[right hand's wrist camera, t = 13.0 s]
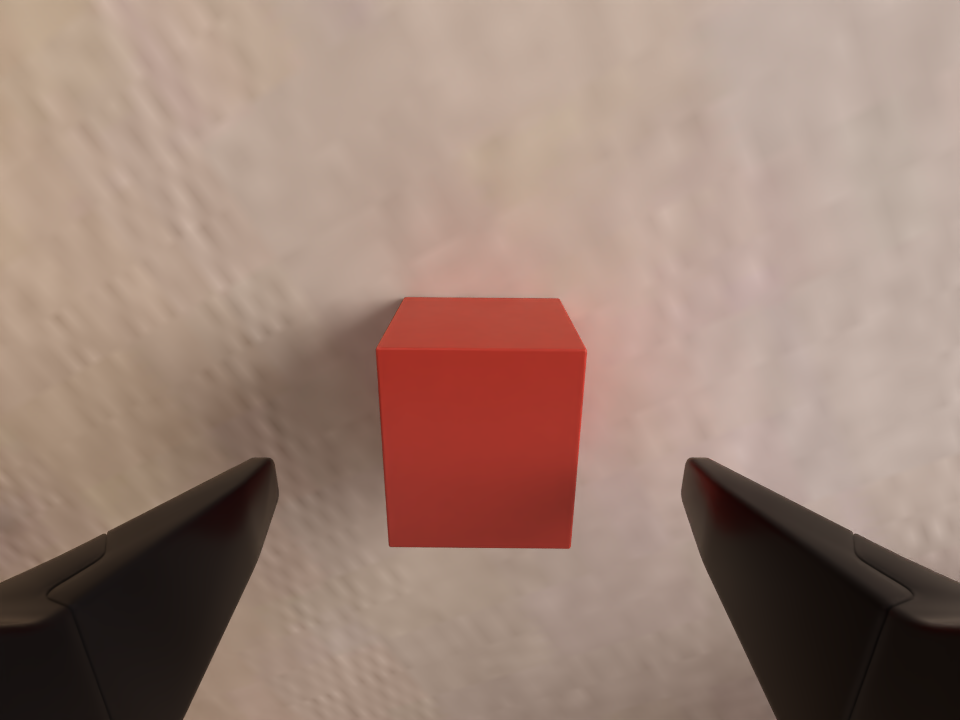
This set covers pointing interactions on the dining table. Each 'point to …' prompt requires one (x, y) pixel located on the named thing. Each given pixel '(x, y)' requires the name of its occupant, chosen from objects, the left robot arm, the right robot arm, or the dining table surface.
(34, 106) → the dining table surface
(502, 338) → the brick
